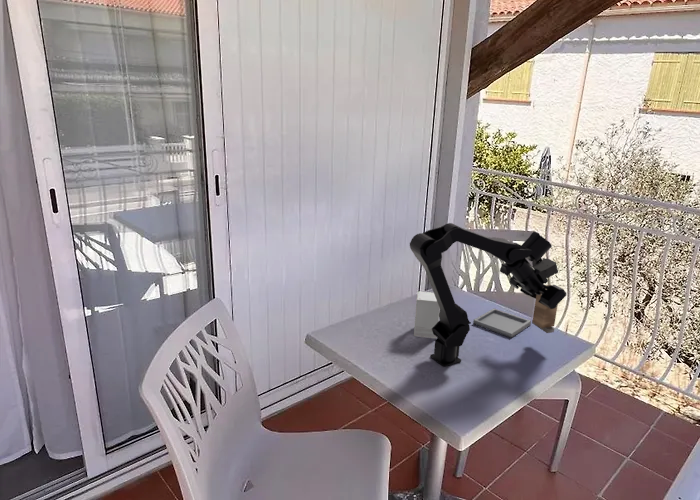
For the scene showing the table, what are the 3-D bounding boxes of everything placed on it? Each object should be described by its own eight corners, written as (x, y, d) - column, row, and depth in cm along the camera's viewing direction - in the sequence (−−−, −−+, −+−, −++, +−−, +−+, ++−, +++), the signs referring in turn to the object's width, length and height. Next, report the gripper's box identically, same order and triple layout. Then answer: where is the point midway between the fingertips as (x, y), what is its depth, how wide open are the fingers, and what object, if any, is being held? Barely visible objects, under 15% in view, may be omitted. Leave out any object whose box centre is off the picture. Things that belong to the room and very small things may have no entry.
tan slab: (544, 333, 143) (550, 292, 140) (529, 323, 150) (534, 284, 146) (556, 331, 145) (563, 291, 141) (541, 321, 151) (547, 282, 147)
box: (511, 338, 153) (511, 333, 152) (473, 323, 162) (473, 319, 161) (530, 324, 162) (531, 320, 162) (493, 312, 171) (494, 308, 171)
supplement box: (437, 339, 151) (440, 302, 147) (413, 336, 152) (415, 299, 149) (437, 328, 158) (440, 292, 154) (415, 326, 159) (417, 290, 156)
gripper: (566, 262, 130) (592, 296, 137) (522, 242, 147) (547, 274, 154) (537, 292, 130) (564, 324, 137) (497, 269, 147) (523, 299, 154)
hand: (550, 304), depth 145 cm, fingers closed on tan slab, 4 cm apart
